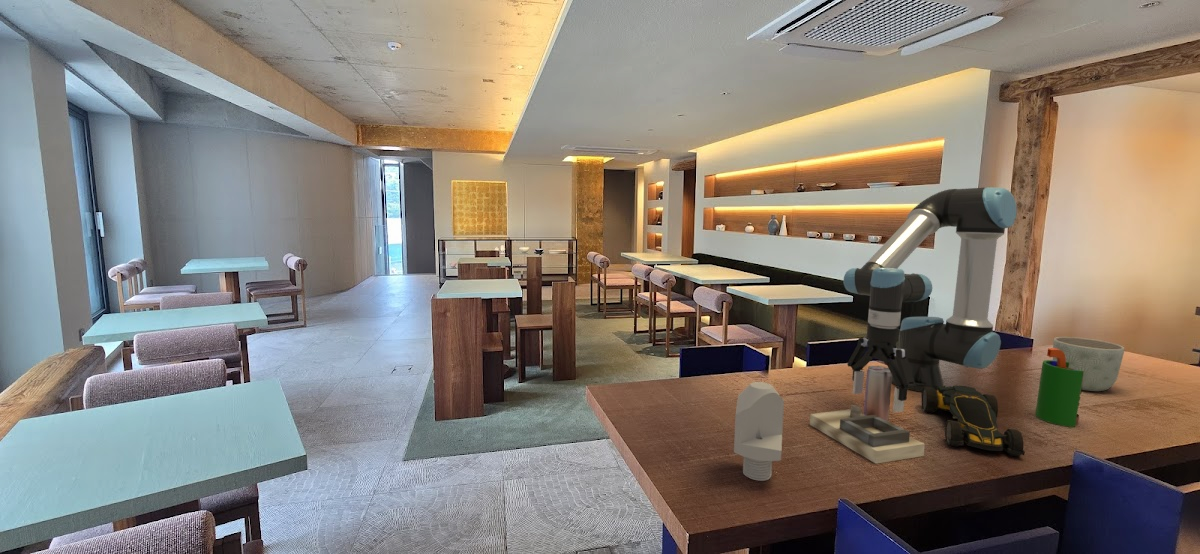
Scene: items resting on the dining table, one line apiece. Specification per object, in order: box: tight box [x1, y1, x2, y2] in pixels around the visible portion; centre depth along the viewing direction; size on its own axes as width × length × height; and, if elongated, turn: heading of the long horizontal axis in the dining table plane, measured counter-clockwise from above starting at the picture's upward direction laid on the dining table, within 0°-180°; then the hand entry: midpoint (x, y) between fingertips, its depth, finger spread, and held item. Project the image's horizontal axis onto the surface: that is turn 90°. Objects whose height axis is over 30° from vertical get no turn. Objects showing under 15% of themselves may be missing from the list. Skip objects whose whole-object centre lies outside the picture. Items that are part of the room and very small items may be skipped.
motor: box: [1034, 347, 1084, 428], centre depth 138 cm, size 10×9×20 cm
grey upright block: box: [733, 381, 785, 482], centre depth 107 cm, size 9×9×20 cm
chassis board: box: [809, 404, 926, 465], centre depth 125 cm, size 22×14×6 cm, turn 16°
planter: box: [1052, 336, 1126, 392], centre depth 166 cm, size 17×17×15 cm
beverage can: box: [863, 365, 893, 422], centre depth 136 cm, size 6×6×15 cm
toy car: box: [921, 385, 1026, 458], centre depth 131 cm, size 16×32×10 cm, turn 157°
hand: (876, 402), depth 136 cm, fingers open, 13 cm apart
